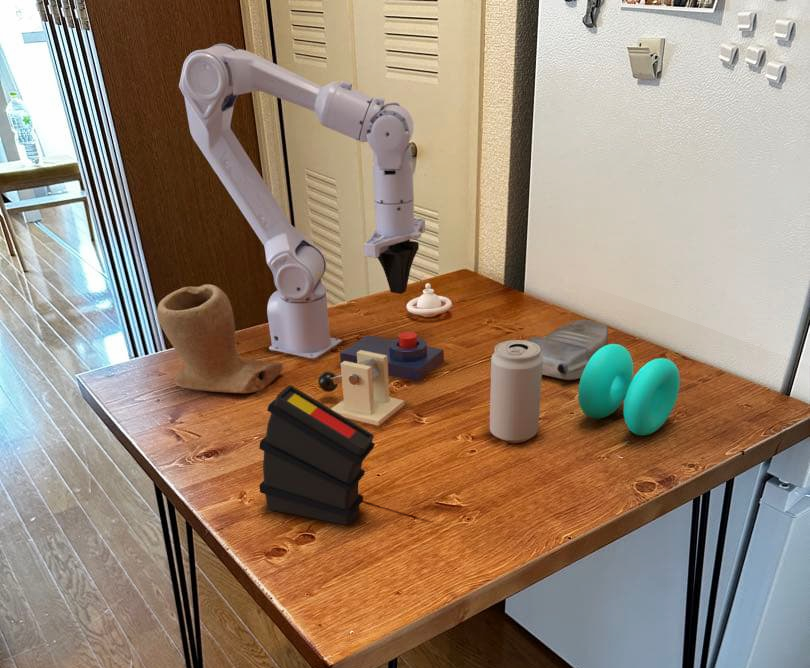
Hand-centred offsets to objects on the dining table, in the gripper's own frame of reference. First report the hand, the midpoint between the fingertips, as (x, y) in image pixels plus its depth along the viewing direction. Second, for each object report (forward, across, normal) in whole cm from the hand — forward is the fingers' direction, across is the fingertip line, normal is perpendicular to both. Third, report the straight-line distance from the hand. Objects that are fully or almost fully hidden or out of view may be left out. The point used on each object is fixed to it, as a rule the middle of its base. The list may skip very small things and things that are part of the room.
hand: (398, 291), depth 125 cm
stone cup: (+10, -24, +17) cm, 31 cm away
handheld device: (+10, +8, -26) cm, 29 cm away
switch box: (+9, -21, -7) cm, 24 cm away
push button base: (+9, -6, -2) cm, 11 cm away
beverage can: (+10, -18, -28) cm, 35 cm away
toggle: (+6, -21, -4) cm, 22 cm away
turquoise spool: (+10, -9, -40) cm, 42 cm away
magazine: (+10, -45, -16) cm, 49 cm away
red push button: (+6, -6, -5) cm, 10 cm away
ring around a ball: (+10, +15, +3) cm, 18 cm away
